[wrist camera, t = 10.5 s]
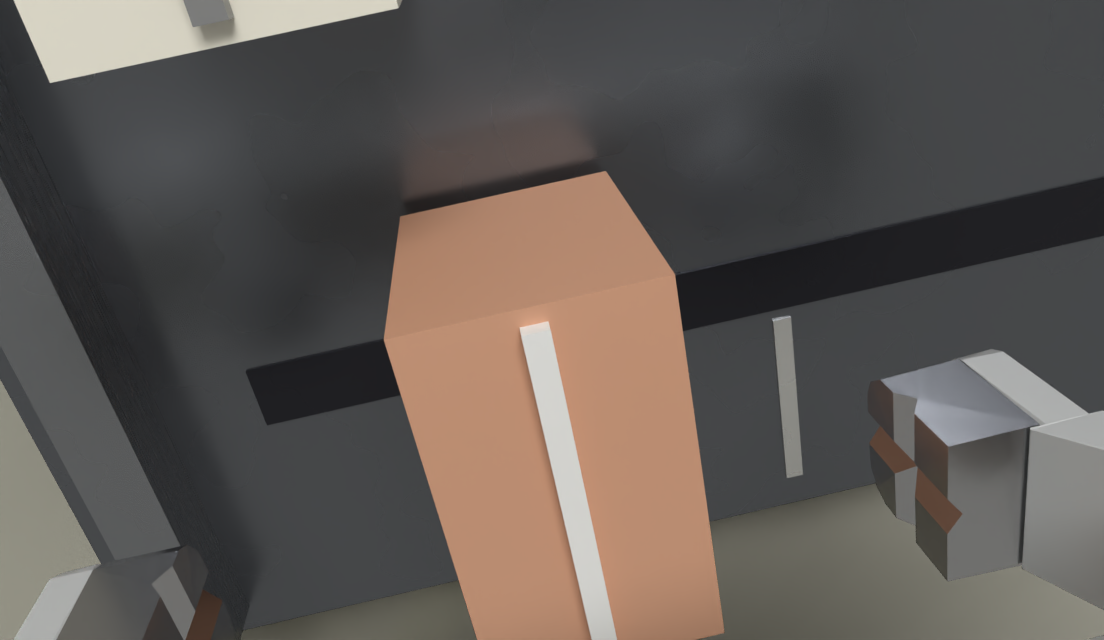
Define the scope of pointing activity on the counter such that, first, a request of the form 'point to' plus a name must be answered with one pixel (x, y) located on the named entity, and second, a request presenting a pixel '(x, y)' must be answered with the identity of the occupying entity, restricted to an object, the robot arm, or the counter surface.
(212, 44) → the cream fader
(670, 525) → the light orange-brown fader
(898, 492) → the robot arm
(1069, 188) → the console
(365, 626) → the counter surface
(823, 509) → the counter surface
